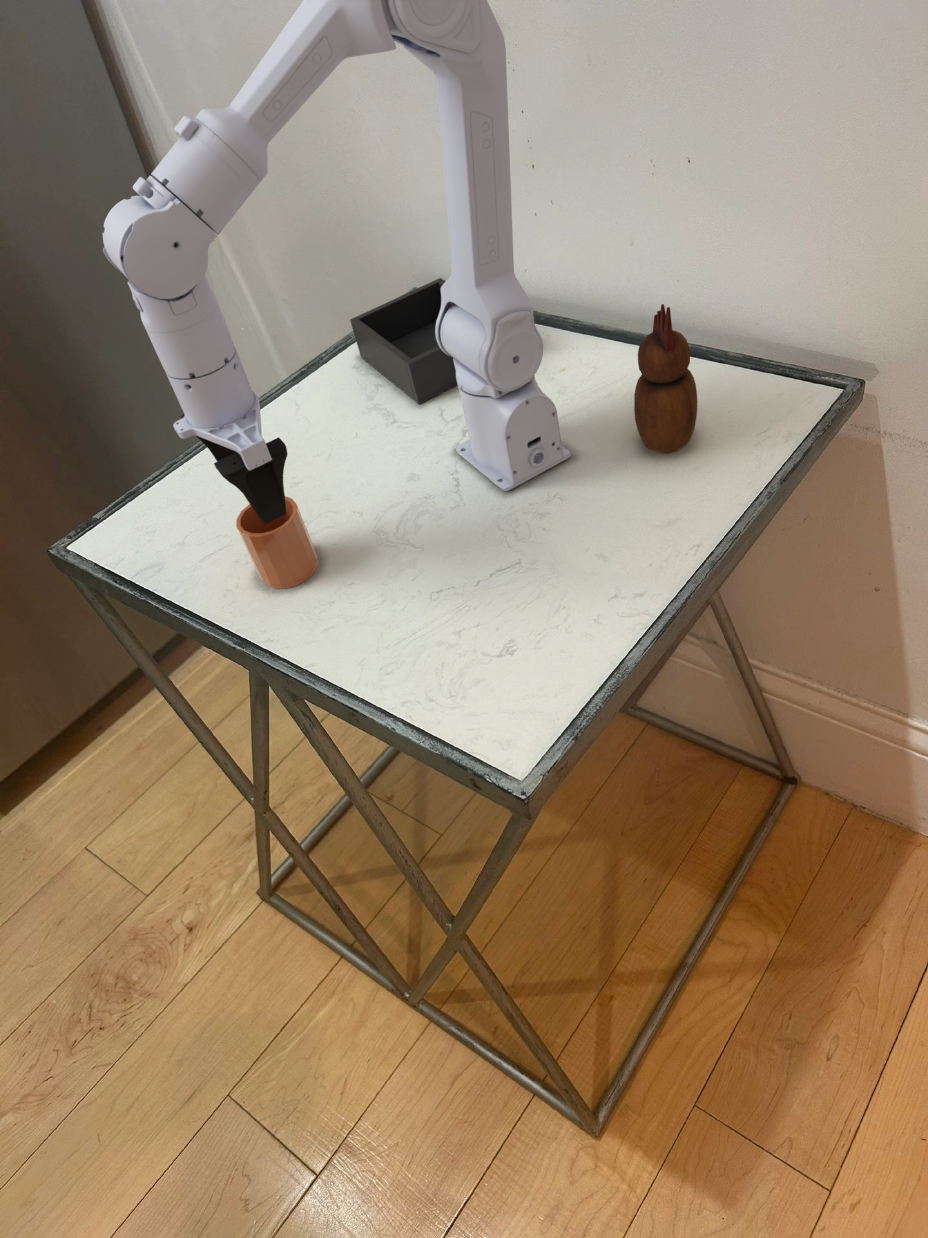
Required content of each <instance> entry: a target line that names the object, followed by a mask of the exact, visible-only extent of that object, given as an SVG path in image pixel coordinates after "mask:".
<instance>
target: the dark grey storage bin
mask: <svg viewBox="0 0 928 1238" xmlns="http://www.w3.org/2000/svg"><path fill="white" fill-rule="evenodd" d="M446 281H447V280H445V279H443V278H441V277H439V278H437V279H435V280H433V281H430V282H428V283H426V284H424V285H422V286H419V287H418V288H416V289H413V290H411V291H409V292H407V293H404V294H403V295H400V296H397V297H396V298H394V299H391V300H389V301H387V302H385V303H383V304H381V305H379V306H376V307H373V308H372V309H370V310H368V311H366V312H363V313H361V314H359V315H357V316H355V317H352V318H350V319H349V321H350V324H351V328H352V331H353V335H354V338H355V342H356V345H357V348H358V352H359V356H360V358H361V360H363V361H364V362H366V363H367V364H368V365H369V366H370V367H372V368H373V369H374V370H376V371H377V372H378V373H379V374H381V376H383V377H384V378H386V380H388V381H389V382H390V383H391V384H393V385H394V386H395V387H397V388H398V389H399V390H400V391H401V392H403V393H404V394H405V395H407V396H408V397H409V398H410V399H411V400H413V401H414V402H415V403H416V404H418V405H421V404H423V403H425V402H427V401H429V400H431V399H433V398H436V397H437V396H439V395H442V394H443V393H446V392H447V391H449V390H451V389H453V388H456V387H458V384H457V380H456V370H455V365H454V361H453V357H451V356H449V355H447V354H445V353H444V352H443V351H442V350H441V348H440V347H439V345H438V343H437V340H436V335H435V326H436V321H437V318H438V315H439V312H440V308H441V287H442V285H443V284H444V283H445V282H446Z"/></svg>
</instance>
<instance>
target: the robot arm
mask: <svg viewBox="0 0 928 1238" xmlns="http://www.w3.org/2000/svg"><path fill="white" fill-rule="evenodd" d="M396 43H397V44H400V45H401V46H402V47H403V48H404V49H405V50H406V51H408V53H410V54H411V55H412V56H413V57H415V58H416V59H418V61H420V62H421V63H422V64H423V65H424V66H425V67H426V68H428V69H429V70H430V71H431V72H432V73H433V74H434V76H435V85H436V95H437V96H436V97H437V98H436V99H437V109H438V110H437V111H438V123H439V133H440V145H441V147H440V148H441V157H442V170H443V171H442V172H443V181H444V195H445V207H446V218H447V219H446V220H447V231H448V244H449V256H450V269H451V274H450V276H449V277H448V278H447V279H446V280H445V281H446V282H445V283H444V284H443V285H442V287H441V308H440V312H439V315H438V318H437V321H436V326H435V335H436V340H437V343H438V345H439V347H440V348H441V350H442V351H443V352H444V353H445V354H447V355H449V356H451V357H453V361H454V365H455V370H456V380H457V384H458V385H457V389H458V393H459V397H460V402H461V407H462V411H463V416H464V421H465V425H466V428H467V429H466V430H467V435H468V439H469V440H467V441H465V442H463V443H461V444H459V445H458V446H456V447H455V448H456V449H455V450H456V453H457V454H459V455H460V456H461V458H463V459H464V460H466V461H467V462H468V463H469V464H470V465H471V466H472V467H474V468H475V469H477V471H479V472H480V473H481V474H482V475H483V476H484V477H486V478H487V479H488V480H490V481H491V482H492V483H493V484H494V485H496V486H497V488H499V489H500V490H502V491H504V492H509V491H510V490H512V489H515V488H516V487H518V486H520V485H522V484H524V483H525V482H527V481H529V480H532V479H533V478H534V477H536V476H538V475H541V474H542V473H544V472H546V471H547V470H550V469H551V468H554V467H555V466H557V465H559V464H561V463H563V462H564V461H566V460H568V459H570V458H571V455H572V454H571V451H570V450H569V449H568V448H566V447H564V446H563V444H562V439H561V431H560V423H559V416H558V410H557V407H556V404H555V403H554V402H553V400H552V399H551V398H550V397H549V396H548V395H547V394H545V392H543V390H542V389H541V388H540V386H539V384H538V382H537V380H536V376H535V374H536V373H537V372H538V370H539V368H540V366H541V364H542V359H543V355H544V342H543V338H542V336H541V334H540V332H539V330H538V328H537V327H536V323H535V318H534V317H535V316H534V305H533V303H532V301H531V299H530V298H529V296H528V295H527V293H526V291H525V290H524V288H523V286H522V285H521V283H520V282H519V279H517V276H516V274H515V265H514V262H515V261H514V239H513V238H514V237H513V212H512V211H513V209H512V183H511V182H512V181H511V158H510V157H511V154H510V153H511V152H510V130H509V128H510V127H509V105H508V103H509V102H508V100H509V99H508V76H507V73H508V72H507V48H506V41H505V36H504V34H503V32H502V28H501V27H500V24H499V23H498V20H497V18H496V17H495V14H494V13H493V10H492V8H491V6H490V3H489V2H488V0H302V1H301V3H300V5H298V7H297V9H296V10H295V11H294V13H293V14H292V16H291V17H290V19H288V21H287V23H286V24H285V26H284V27H283V28H282V30H281V32H280V33H279V34H278V36H277V37H276V38H275V40H274V41H273V43H272V44H271V45H270V47H269V49H268V50H267V51H266V53H265V54H264V56H263V57H262V58H261V60H260V61H259V63H258V64H257V66H256V67H255V68H254V70H253V71H252V73H250V76H249V77H248V78H247V80H246V81H245V83H244V84H243V86H242V87H241V89H240V90H239V91H238V93H237V94H236V96H235V97H234V98H233V100H232V101H231V103H230V104H229V105H228V106H226V107H220V108H203V109H201V110H200V111H199V112H198V113H197V115H196V116H195V117H194V118H193V119H192V118H190V117H189V116H187V115H184V116H182V118H181V119H180V120H179V122H178V123H177V124H176V125H175V126H174V128H173V129H174V133H176V135H178V136H179V137H178V139H176V142H175V143H174V144H173V145H172V147H171V148H170V149H169V150H168V151H167V153H166V154H165V156H163V158H162V159H161V161H160V162H159V163H158V164H157V165H156V166H155V168H154V169H153V170H152V171H151V173H150V174H151V175H149V176H148V177H147V178H146V179H145V178H143V177H142V176H139V177H138V179H137V180H136V181H135V183H134V184H133V185H132V190H133V191H134V192H135V193H137V195H133V196H130V198H129V199H126V198H124V199H122V200H120V201H118V202H117V203H116V204H115V205H114V206H113V207H112V208H111V209H110V210H109V212H108V214H107V215H106V217H105V219H104V222H103V226H102V227H103V228H104V231H103V232H102V242H103V246H104V247H103V248H102V253H103V254H104V256H105V258H106V259H107V260H108V262H109V263H110V264H111V265H112V266H113V267H114V268H115V269H116V270H117V271H119V272H121V274H123V275H124V276H125V277H126V279H127V280H128V281H127V285H128V287H129V290H130V292H131V296H132V300H133V302H134V304H135V306H136V308H137V309H138V310H139V315H140V320H141V322H142V325H143V327H144V330H145V331H146V333H147V335H148V339H149V340H150V342H151V344H152V346H153V348H154V351H155V353H156V356H157V357H158V360H159V362H160V364H161V366H162V368H163V371H164V373H165V375H166V377H167V380H168V381H169V384H170V386H171V388H172V390H173V392H174V394H175V397H176V398H177V401H178V404H179V405H180V408H181V410H182V412H183V414H182V415H181V416H180V419H178V420H176V421H174V423H173V425H172V426H173V428H174V431H175V432H176V434H177V435H178V437H179V438H180V439H182V440H185V439H189V438H191V437H194V436H195V437H197V439H199V441H200V442H202V444H204V446H205V447H206V448H207V449H208V450H209V452H210V453H211V455H212V456H213V458H214V459H215V462H214V463H213V464H214V467H215V469H216V470H217V471H218V473H219V474H220V476H221V477H223V478H224V480H226V481H227V482H228V483H229V484H230V485H233V486H234V487H235V488H237V489H238V490H239V491H240V492H241V493H242V495H243V497H245V499H246V500H247V502H248V503H249V504H250V505H251V507H252V508H253V510H254V511H255V513H256V514H257V515H258V516H259V518H260V519H261V520H262V521H263V522H264V523H265V524H267V523H269V522H271V521H273V520H275V519H277V518H279V517H281V516H283V515H285V514H286V502H285V496H286V495H285V487H284V471H285V465H286V461H287V459H288V458H287V457H288V449H287V445H286V443H285V442H284V441H283V440H282V439H281V437H276V438H274V439H272V440H270V441H268V442H266V441H265V439H264V437H263V435H262V434H263V432H262V418H261V417H262V416H261V415H262V414H261V403H260V400H259V397H258V395H257V394H256V392H254V391H253V389H252V387H251V384H250V382H249V378H248V377H247V374H246V372H245V368H244V366H243V364H242V361H241V358H240V355H239V354H238V350H237V347H236V346H235V343H234V340H233V338H232V336H231V334H230V330H229V327H228V326H227V323H226V321H225V318H224V315H223V312H222V310H221V307H220V305H219V302H218V299H217V297H216V295H215V293H214V292H213V290H211V287H210V284H209V282H208V279H207V277H206V273H207V271H208V265H209V247H210V245H211V244H212V243H213V242H214V241H215V240H216V239H217V237H218V236H219V235H220V234H221V232H222V231H223V230H224V228H226V226H227V225H228V224H229V222H230V221H231V220H232V219H233V217H234V216H235V215H236V214H237V212H238V211H239V210H240V209H241V208H242V206H243V205H244V204H245V202H246V201H247V200H248V198H249V197H250V196H251V195H252V194H253V192H254V191H255V190H256V188H257V187H258V186H259V185H260V184H261V182H262V181H263V180H264V179H265V177H267V175H268V172H269V161H268V160H269V159H268V157H269V156H268V155H269V154H268V146H269V143H270V142H271V141H272V140H273V139H274V138H275V136H276V135H277V134H278V133H279V132H280V131H281V130H282V129H283V128H284V127H285V125H286V124H287V123H288V122H289V121H290V120H291V119H292V117H294V116H295V114H296V113H297V112H298V111H299V110H300V109H301V107H303V106H304V104H305V103H307V101H308V100H309V99H310V97H311V96H313V94H314V93H315V92H316V91H317V90H318V89H319V87H320V86H321V85H322V84H323V83H324V82H325V81H326V79H327V78H328V77H329V76H330V75H331V74H332V73H333V72H334V71H335V70H336V68H338V66H339V65H340V64H341V63H342V62H343V61H344V60H346V59H348V58H354V57H360V56H365V55H366V56H367V55H374V54H378V53H379V54H380V53H384V52H385V53H386V52H391V51H394V50H396V49H397V46H396ZM249 504H248V505H249Z"/></svg>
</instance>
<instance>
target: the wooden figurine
mask: <svg viewBox="0 0 928 1238" xmlns="http://www.w3.org/2000/svg"><path fill="white" fill-rule="evenodd" d="M652 323H653V324H652V332H650V333H648V334H647V335H646V336H645V337H644V338H643V339H642V341H640V344H639V346H638V350H637V366H638V370H639V372H640V374H641V375H640V376H639V377H638V379H637V382H636V385H635V389H634V395H633V398H634V399H633V401H634V402H633V404H634V405H633V412H634V422H635V426H636V430H637V432H638V435H639V437H640V439H641V441H642V443H643V445H644V446H645V447H646V448H647V449H648V450H650V451H652V452H654V453H655V452H656V453H660V454H672V453H676V452H678V451H679V450H681V449H682V448H684V447H686V446H687V445H688V443H689V442H690V441H691V440H692V437H693V435H694V431H695V427H696V423H697V417H698V392H697V384H696V381H695V377H694V375H693V374H692V371H691V370H690V369H688V368H689V366H690V363H691V350H690V347H689V343H688V339H687V338H686V337H685V336H684V335H683V334H682V333H681V332H679V331H677V330H673V324H672V314H671V307H670V306H668V307H666V308H665V304H664V303H663V304H660V310H657V312H656V314H654V315H653V322H652Z"/></svg>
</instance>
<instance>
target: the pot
mask: <svg viewBox="0 0 928 1238" xmlns="http://www.w3.org/2000/svg"><path fill="white" fill-rule="evenodd" d="M285 502H286V514H285V515H283V516H281V517H279V518H277V519H275V520H273V521H271V522H269V523H267V524H265V523H264V522H263V521H262V520H261V519H260V518H259V516H258V515H257V514H256V513H255V511H254V510H253V508H252V507H251V505H250V504H247V506H246V507H244V508H243V509H242V510H241V511H240V512H239V514H238V516H237V518H236V525H235V527H236V529H237V532H238V534H239V536H240V538H241V540H242V542H243V544H244V546H245V549H246V551H247V553H248V555H249V557H250V559H251V562H252V563H253V566H254V568H255V570H256V572H257V575H258V576H259V577H260V580H261V582H262V583H263V585H265V586H266V587H269V588H271V589H276V590H277V589H278V590H280V589H281V590H284V589H289V588H290V589H291V588H294V587H296V586H298V585H301V584H302V583H304V582H306V581H308V580H309V579H310V578H311V577H312V576H313V574H315V572H316V570H317V568H318V565H319V558H318V555H317V551H316V549H315V547H314V544H313V542H312V539H311V536H310V534H309V532H308V529H307V527H306V524H305V521H304V519H303V516H302V514H301V512H300V509H299V506H298V504H297V503H296V501H295V500H294V499H293V498H291V497H289V496H286V495H285Z"/></svg>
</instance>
